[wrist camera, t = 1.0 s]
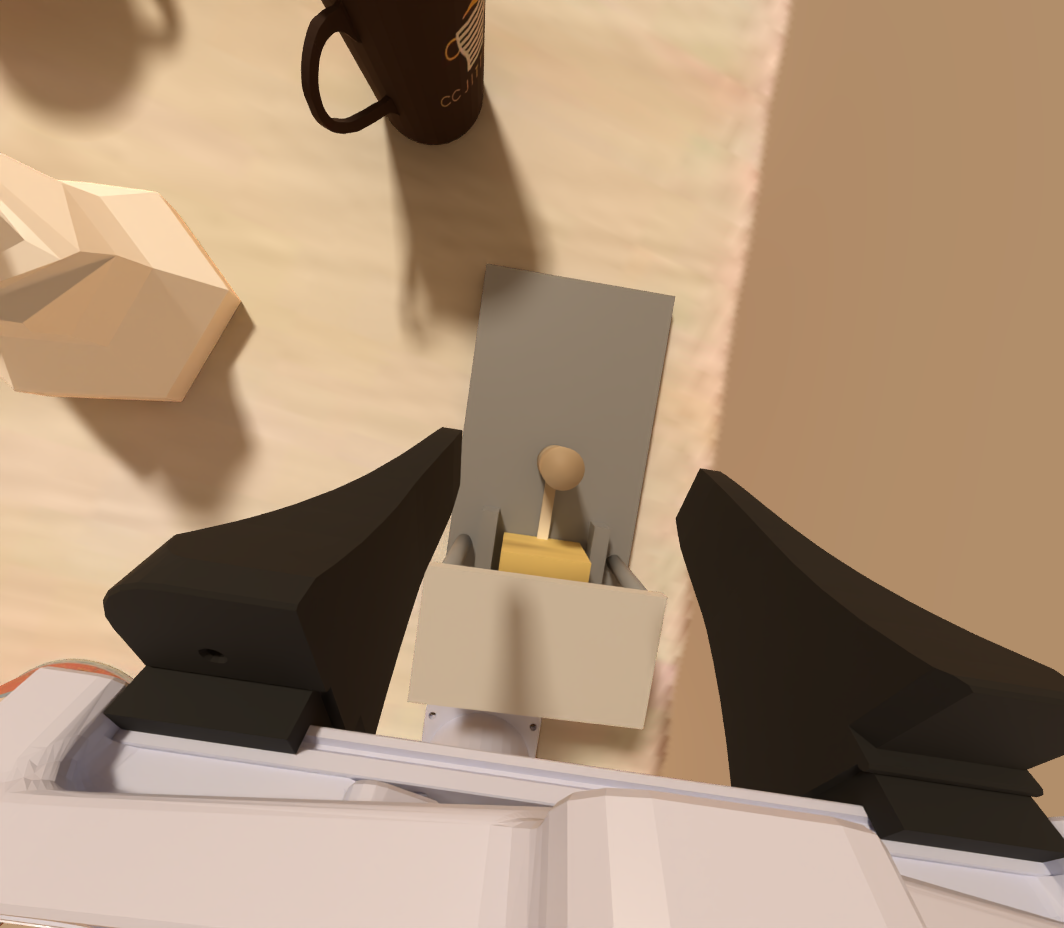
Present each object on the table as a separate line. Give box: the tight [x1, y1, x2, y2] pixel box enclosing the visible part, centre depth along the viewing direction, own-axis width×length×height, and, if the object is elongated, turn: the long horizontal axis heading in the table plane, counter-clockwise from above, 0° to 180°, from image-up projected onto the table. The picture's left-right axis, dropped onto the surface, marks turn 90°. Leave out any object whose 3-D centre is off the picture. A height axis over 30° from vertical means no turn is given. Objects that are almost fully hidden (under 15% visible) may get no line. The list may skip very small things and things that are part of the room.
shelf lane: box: [407, 264, 675, 729], centre depth 22 cm, size 24×12×7 cm, turn 171°
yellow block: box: [498, 445, 591, 583], centre depth 22 cm, size 12×5×5 cm, turn 171°
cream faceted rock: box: [0, 152, 241, 402], centre depth 17 cm, size 12×15×14 cm
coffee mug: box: [301, 0, 485, 145], centre depth 18 cm, size 12×9×10 cm
